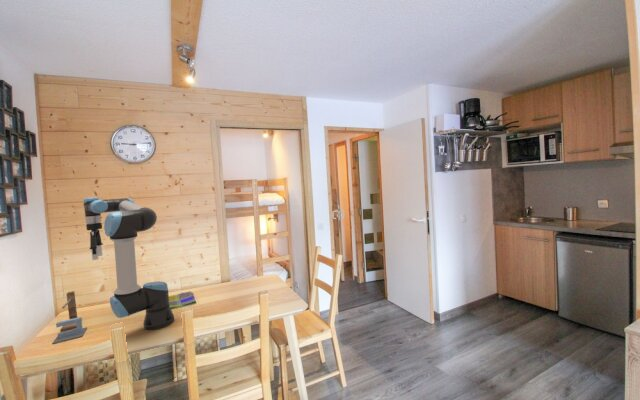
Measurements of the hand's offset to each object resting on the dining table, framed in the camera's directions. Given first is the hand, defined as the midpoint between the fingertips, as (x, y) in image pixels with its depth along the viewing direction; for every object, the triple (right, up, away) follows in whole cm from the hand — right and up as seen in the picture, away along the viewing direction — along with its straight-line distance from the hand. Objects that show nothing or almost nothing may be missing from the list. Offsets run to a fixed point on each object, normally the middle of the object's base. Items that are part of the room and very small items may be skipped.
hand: (97, 257), depth 180 cm
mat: (+2, -38, -22) cm, 43 cm away
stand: (-7, -38, -11) cm, 40 cm away
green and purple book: (+42, -34, +18) cm, 57 cm away
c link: (+2, -37, -22) cm, 43 cm away
